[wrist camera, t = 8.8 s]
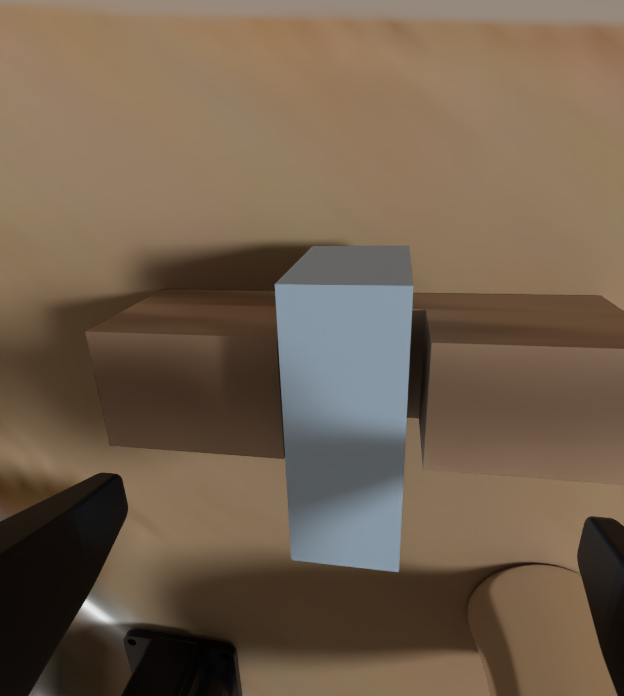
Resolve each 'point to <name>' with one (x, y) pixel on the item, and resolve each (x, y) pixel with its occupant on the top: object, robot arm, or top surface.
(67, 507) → the robot arm
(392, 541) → the light blue block
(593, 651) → the beer glass
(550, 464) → the rail
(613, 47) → the top surface
